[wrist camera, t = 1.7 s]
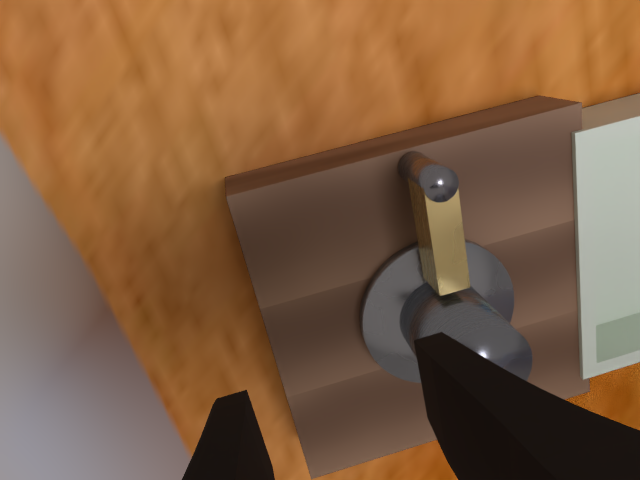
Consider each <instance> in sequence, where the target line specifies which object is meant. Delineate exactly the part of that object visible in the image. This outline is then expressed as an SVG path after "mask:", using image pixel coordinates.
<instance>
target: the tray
mask: <svg viewBox="0 0 640 480" xmlns="http://www.w3.org/2000/svg"><path fill="white" fill-rule="evenodd" d="M571 133H572V161H573V189H574V217H575V245H576V273H577V301H578V329H579V357H580V377H581V378H582V379H583V380H584V379H587V378H590V377H594V376H597V375H600V374H603V373H606V372H610V371H613V370H616V369H619V368H622V367H626V366H629V365H632V364H635V363H638V362H640V93H638V94H634V95H631V96H627V97H623V98H619V99H616V100H612V101H608V102H604V103H601V104H597V105H593V106H589V107H585V108H582V130H578V131H575V132H571Z"/></svg>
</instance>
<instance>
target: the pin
mask: <svg viewBox="0 0 640 480" xmlns="http://www.w3.org/2000/svg"><path fill="white" fill-rule="evenodd" d="M465 247H466V255H467V263H468V271H469V279H470V288H466V289H463V290H460V291H456V292H453V293H449V294H446V295H442V296H439V295H438V293H437V292H436V291H435V290H434V289H433V288H432V287H431V285H430V284H429V283H428V282H427V281H426V280H425V278H424V277H423V271H422V264H421V258H420V252H419V246H418V242H415V243H413V244H411V245H409V246H406V247H404V248H403V249H401V250H400V251H398V252H397V253H395V254H394V255H393V256H391V257H390V258H389V259H388V260H387V261H386V262H385V263H384V264H383V265H382V266H381V267H380V268H379V269H378V270H377V272H376V273H375V274H374V275H373V277H372V279H371V280H370V282H369V284H368V286H367V288H366V290H365V293H364V295H363V299H362V302H361V307H360V328H361V333H362V336H363V339H364V341H365V343H366V345H367V348H368V350H369V352H370V354H371V355H372V357H373V358H374V360H375V361H376V362H377V363H378V364H379V365H380V366H381V367H382V368H383V369H384V370H385V371H387V372H388V373H390V374H392V375H393V376H395V377H397V378H400V379H403V380H406V381H410V382H416V383H421V379H420V373H419V368H418V362H417V356H416V351H415V345H414V340H416V339H419V338H423V337H426V336H430V335H433V334H436V333H440V332H443V333H445V334H446V335H448V336H450V337H451V338H453V339H455V340H456V341H458V342H460V343H461V344H463V345H465V346H466V347H468V348H470V349H471V350H473V351H475V352H476V353H478V354H480V355H481V356H483V357H485V358H486V359H488V360H490V361H491V362H493V363H495V364H497V365H498V366H500V367H502V368H503V369H505V370H507V371H509V372H511V373H513V374H514V375H516V376H518V377H520V378H522V379H524V380H525V381H527V380H528V377H529V375H530V372H531V369H532V351H531V348H530V345H529V344H528V342H527V340H526V339H525V338H524V337H523V336H522V335H521V334H520V333H519V332H518V331H517V330H516V329H515V328H514V327H513V326H512V325H511V324H510V322H511V319H512V315H513V309H514V290H513V285H512V282H511V278H510V276H509V274H508V272H507V270H506V268H505V267H504V266H503V264H502V263H501V262H500V261H499V260H498V259H497V258H496V257H495V256H494V255H493V254H492V253H490V252H489V251H488V250H486V249H485V248H484V247H482V246H481V245H479V244H477V243H475V242H473V241H470V240H467V239H465Z"/></svg>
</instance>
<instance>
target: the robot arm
mask: <svg viewBox="0 0 640 480" xmlns="http://www.w3.org/2000/svg"><path fill="white" fill-rule="evenodd" d="M414 345H415V351H416V356H417V362H418V368H419V373H420V379H421V385H422V390H423V396H424V401H425V407H426V413H427V418H428V420H429V423H430V425H431V427H432V429H433V431H434V434H435V436H436V438H437V440H438V442H439V444H440V447H441V449H442V451H443V453H444V455H445V457H446V459H447V461H448V463H449V465H450V466H451V468H452V470H453V471H454V473H455V475H456V476H457V478H458V480H640V430H637V429H634V428H631V427H629V426H626V425H623V424H621V423H618V422H616V421H613V420H611V419H608V418H606V417H603V416H601V415H598V414H596V413H593V412H591V411H588V410H586V409H584V408H581V407H579V406H577V405H575V404H572V403H570V402H568V401H566V400H564V399H562V398H560V397H558V396H556V395H553V394H551V393H549V392H547V391H545V390H543V389H541V388H539V387H537V386H535V385H533V384H531V383H529V382H527V381H525V380H524V379H522V378H520V377H518V376H516V375H514V374H513V373H511V372H509V371H507V370H505V369H503V368H502V367H500V366H498V365H497V364H495V363H493V362H491V361H490V360H488V359H486V358H485V357H483V356H481V355H480V354H478V353H476V352H475V351H473V350H471V349H470V348H468V347H466V346H465V345H463V344H461V343H460V342H458V341H456V340H455V339H453V338H451V337H450V336H448V335H446V334H445V333H443V332H440V333H436V334H433V335H430V336H426V337H423V338H419V339H416V340H414ZM182 480H275V478H274V473H273V467H272V464H271V461H270V458H269V455H268V452H267V449H266V446H265V443H264V440H263V437H262V434H261V431H260V428H259V425H258V422H257V419H256V416H255V413H254V410H253V407H252V404H251V401H250V398H249V395H248V392H247V390H244V391H241V392H238V393H234V394H231V395H227V396H224V397H221V398H217V399H216V401H215V402H214V404H213V406H212V409H211V411H210V414H209V417H208V419H207V422H206V425H205V427H204V430H203V432H202V435H201V437H200V440H199V442H198V445H197V447H196V449H195V452H194V454H193V456H192V459H191V461H190V463H189V465H188V467H187V470H186V472H185V474H184V476H183V478H182Z"/></svg>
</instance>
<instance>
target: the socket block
mask: <svg viewBox="0 0 640 480" xmlns="http://www.w3.org/2000/svg"><path fill="white" fill-rule="evenodd" d="M578 130H582V103H581V102H575V101H569V100H563V99H557V98H551V97H545V96H536V97H532V98H528V99H524V100H520V101H516V102H513V103H509V104H505V105H501V106H497V107H493V108H490V109H486V110H482V111H478V112H474V113H471V114H467V115H463V116H459V117H455V118H451V119H448V120H444V121H440V122H436V123H432V124H428V125H425V126H421V127H417V128H413V129H409V130H405V131H402V132H398V133H394V134H390V135H386V136H382V137H379V138H375V139H371V140H367V141H363V142H359V143H356V144H352V145H348V146H344V147H340V148H336V149H333V150H329V151H325V152H321V153H317V154H313V155H310V156H306V157H302V158H298V159H294V160H290V161H287V162H283V163H279V164H275V165H271V166H267V167H264V168H260V169H256V170H252V171H248V172H244V173H241V174H237V175H233V176H229V177H225V188H226V199H227V202H228V205H229V209H230V212H231V215H232V218H233V222H234V225H235V228H236V232H237V235H238V238H239V242H240V245H241V248H242V251H243V255H244V258H245V261H246V265H247V268H248V271H249V275H250V278H251V281H252V284H253V288H254V291H255V294H256V298H257V301H258V304H259V308H260V311H261V314H262V318H263V321H264V324H265V327H266V331H267V334H268V337H269V341H270V344H271V347H272V351H273V354H274V357H275V360H276V364H277V367H278V370H279V374H280V377H281V380H282V384H283V387H284V390H285V393H286V397H287V400H288V403H289V407H290V410H291V413H292V417H293V420H294V423H295V426H296V430H297V433H298V436H299V440H300V443H301V446H302V450H303V453H304V456H305V459H306V463H307V466H308V469H309V473H310V476H311V479H313V478H317V477H320V476H323V475H326V474H329V473H332V472H336V471H339V470H342V469H345V468H348V467H351V466H355V465H358V464H361V463H364V462H367V461H371V460H374V459H377V458H380V457H383V456H386V455H390V454H393V453H396V452H399V451H402V450H405V449H409V448H412V447H415V446H418V445H421V444H425V443H428V442H431V441H434V440H437V438H436V436H435V434H434V431H433V429H432V427H431V425H430V423H429V420H428V418H427V413H426V407H425V401H424V396H423V390H422V385H421V383H416V382H410V381H406V380H403V379H400V378H397V377H395V376H393V375H392V374H390V373H388V372H387V371H385V370H384V369H383V368H382V367H381V366H380V365H379V364H378V363H377V362H376V361H375V360H374V358H373V357H372V355H371V354H370V352H369V350H368V348H367V345H366V343H365V341H364V339H363V336H362V333H361V328H360V307H361V302H362V299H363V295H364V293H365V290H366V288H367V286H368V284H369V282H370V280H371V279H372V277H373V275H374V274H375V273H376V272H377V270H378V269H379V268H380V267H381V266H382V265H383V264H384V263H385V262H386V261H387V260H388V259H389V258H390V257H391V256H393V255H394V254H395V253H397V252H398V251H400V250H401V249H403V248H404V247H406V246H409V245H411V244H413V243H415V242H418V240H417V233H416V227H415V221H414V215H413V209H412V202H411V196H410V190H409V184H408V182H406V181H405V180H404V179H402V178H401V176H400V175H399V172H398V165H399V162H400V160H401V158H402V157H403V156H404V155H405V154H407V153H409V152H412V151H417V152H420V153H422V154H424V155H425V156H427V157H429V158H431V159H433V160H435V161H436V162H438V163H440V164H442V165H444V166H445V167H447V168H449V169H451V170H453V171H454V172H455V173H456V175H457V176H458V180H459V186H458V190H459V198H460V206H461V215H462V223H463V231H464V239H467V240H470V241H473V242H475V243H477V244H479V245H481V246H482V247H484V248H485V249H486V250H488V251H489V252H490V253H492V254H493V255H494V256H495V257H496V258H497V259H498V260H499V261H500V262H501V263H502V264H503V266H504V267H505V268H506V270H507V272H508V274H509V276H510V278H511V282H512V285H513V290H514V309H513V315H512V319H511V322H510V324H511V325H512V326H513V327H514V328H515V329H516V330H517V331H518V332H519V333H520V334H521V335H522V336H523V337H524V338H525V339H526V340H527V342H528V344H529V345H530V348H531V351H532V369H531V372H530V375H529V377H528V380H527V382H529V383H531V384H533V385H535V386H537V387H539V388H541V389H543V390H545V391H547V392H549V393H551V394H553V395H556V396H558V397H560V398H562V399H567V398H571V397H574V396H577V395H580V394H583V393H586V392H590V385H589V378H587V379H584V380H583V379H582V378H581V377H580V357H579V329H578V301H577V273H576V245H575V217H574V189H573V161H572V133H571V132H575V131H578Z"/></svg>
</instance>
